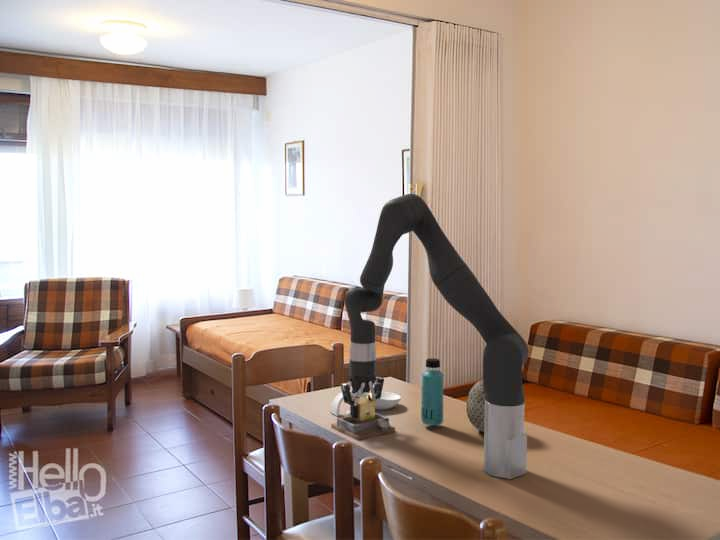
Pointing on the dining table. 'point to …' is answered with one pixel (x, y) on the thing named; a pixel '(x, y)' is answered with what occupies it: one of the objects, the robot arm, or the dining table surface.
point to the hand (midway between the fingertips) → (362, 415)
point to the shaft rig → (363, 426)
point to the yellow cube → (365, 410)
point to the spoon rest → (383, 403)
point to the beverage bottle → (432, 394)
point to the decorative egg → (476, 406)
